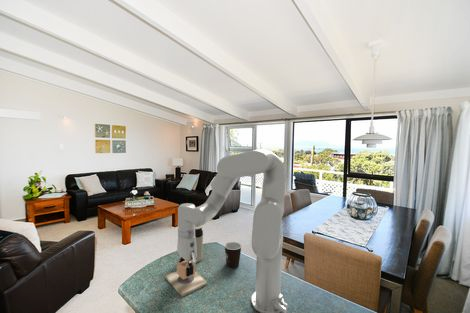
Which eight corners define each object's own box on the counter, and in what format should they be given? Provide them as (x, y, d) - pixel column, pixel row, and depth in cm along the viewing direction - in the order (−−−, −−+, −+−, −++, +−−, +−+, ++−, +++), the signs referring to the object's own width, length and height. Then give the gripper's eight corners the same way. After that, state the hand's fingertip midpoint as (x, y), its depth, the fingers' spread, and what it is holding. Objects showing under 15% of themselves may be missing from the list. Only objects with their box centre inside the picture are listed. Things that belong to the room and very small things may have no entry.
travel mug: (203, 255, 118) (203, 223, 117) (201, 262, 110) (202, 228, 109) (188, 254, 118) (189, 223, 117) (186, 262, 110) (186, 228, 109)
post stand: (207, 284, 93) (207, 268, 92) (182, 297, 85) (182, 279, 84) (188, 268, 105) (189, 254, 104) (165, 277, 97) (165, 262, 96)
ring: (195, 274, 94) (195, 264, 94) (183, 279, 90) (183, 269, 90) (188, 268, 99) (188, 258, 98) (176, 273, 95) (176, 263, 94)
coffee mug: (241, 269, 104) (241, 250, 104) (223, 269, 105) (224, 249, 104) (240, 257, 116) (241, 239, 116) (225, 257, 116) (225, 239, 116)
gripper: (204, 236, 90) (203, 277, 90) (184, 224, 103) (184, 260, 103) (188, 241, 85) (188, 284, 85) (170, 228, 98) (169, 266, 98)
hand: (186, 271), depth 94 cm, fingers closed on ring, 5 cm apart
